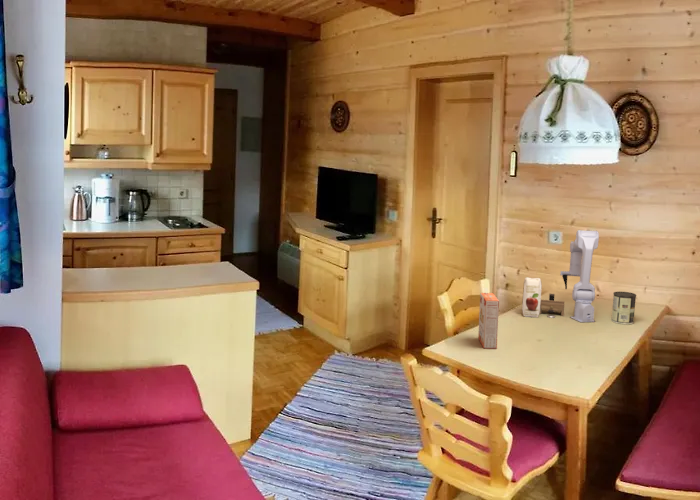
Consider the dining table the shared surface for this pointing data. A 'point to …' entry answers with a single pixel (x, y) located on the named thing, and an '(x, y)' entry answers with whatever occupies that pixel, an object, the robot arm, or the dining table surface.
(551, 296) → the brown-topped white block
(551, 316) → the steel token
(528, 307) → the juice carton
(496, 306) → the cracker box
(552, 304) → the walnut u-shaped block
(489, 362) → the dining table surface
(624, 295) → the coffee can
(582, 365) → the dining table surface
